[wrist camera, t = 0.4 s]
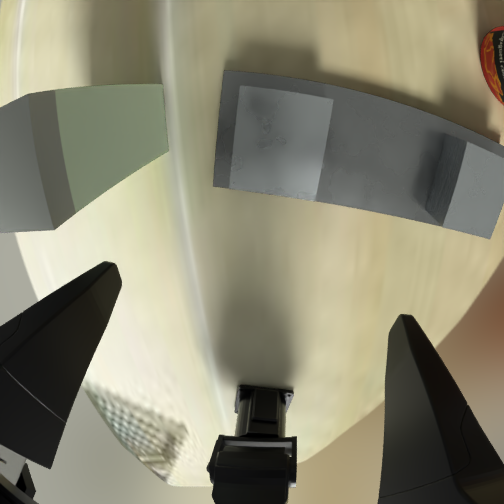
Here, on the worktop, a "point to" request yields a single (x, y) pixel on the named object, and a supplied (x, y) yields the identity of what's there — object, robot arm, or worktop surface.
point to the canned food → (494, 61)
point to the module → (74, 149)
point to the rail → (355, 152)
